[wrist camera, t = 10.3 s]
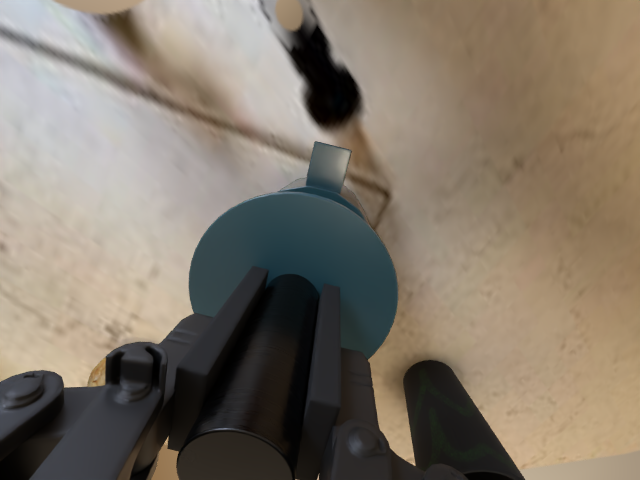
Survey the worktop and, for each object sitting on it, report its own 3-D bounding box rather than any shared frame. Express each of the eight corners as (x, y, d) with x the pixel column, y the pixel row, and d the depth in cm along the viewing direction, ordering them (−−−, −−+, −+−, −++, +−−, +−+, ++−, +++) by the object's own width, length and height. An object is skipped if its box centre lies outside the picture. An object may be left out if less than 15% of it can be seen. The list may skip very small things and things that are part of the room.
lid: (422, 218, 14) (571, 338, 5) (362, 387, 17) (389, 650, 8) (211, 166, 13) (-20, 193, 5) (189, 345, 16) (21, 564, 8)
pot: (385, 160, 26) (407, 163, 18) (343, 303, 30) (345, 359, 22) (284, 134, 26) (258, 126, 18) (256, 282, 30) (225, 330, 22)
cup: (403, 345, 31) (441, 459, 20) (475, 359, 31) (554, 481, 20) (386, 402, 33) (410, 533, 22) (452, 415, 33) (512, 553, 22)
